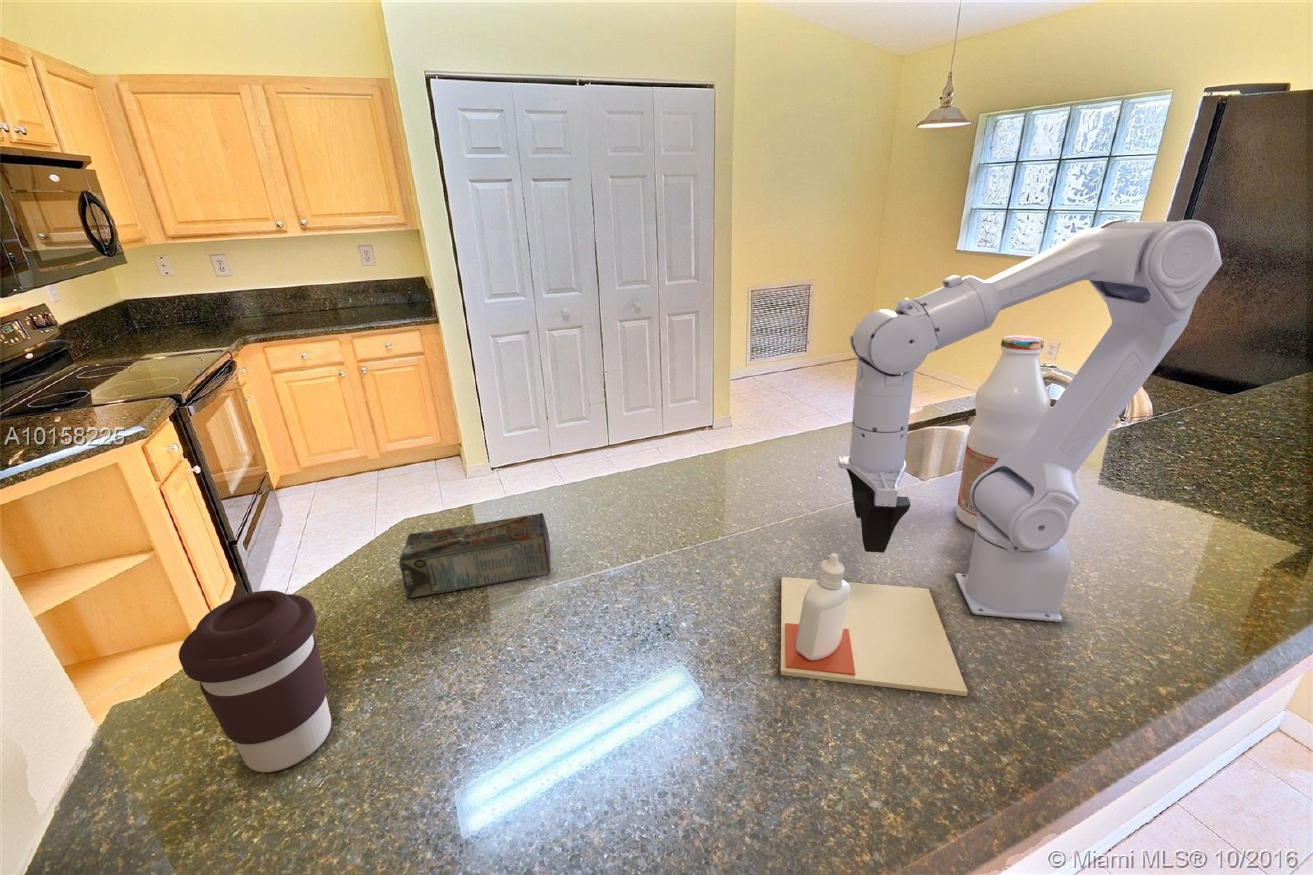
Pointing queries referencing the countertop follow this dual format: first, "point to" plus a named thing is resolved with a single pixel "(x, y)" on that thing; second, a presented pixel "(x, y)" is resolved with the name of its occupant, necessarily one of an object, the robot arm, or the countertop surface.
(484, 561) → the beverage carton
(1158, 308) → the robot arm
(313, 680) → the coffee cup
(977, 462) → the fruit juice
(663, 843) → the countertop surface
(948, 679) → the mat
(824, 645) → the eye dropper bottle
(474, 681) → the countertop surface
